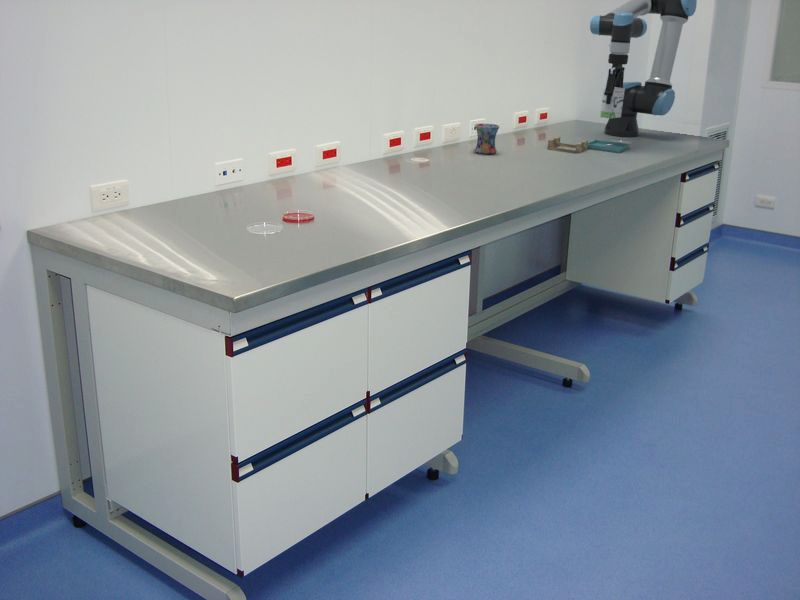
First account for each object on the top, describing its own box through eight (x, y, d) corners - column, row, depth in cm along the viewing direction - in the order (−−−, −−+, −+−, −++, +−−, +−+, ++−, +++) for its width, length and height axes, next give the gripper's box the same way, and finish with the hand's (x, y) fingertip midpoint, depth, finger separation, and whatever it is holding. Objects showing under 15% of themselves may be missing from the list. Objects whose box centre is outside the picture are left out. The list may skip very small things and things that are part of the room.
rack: (557, 145, 350) (558, 136, 349) (587, 149, 344) (588, 140, 343) (547, 149, 340) (547, 140, 338) (577, 153, 334) (578, 144, 333)
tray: (594, 143, 357) (594, 139, 356) (629, 148, 350) (629, 144, 349) (583, 148, 346) (584, 143, 345) (619, 153, 339) (620, 148, 338)
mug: (490, 156, 320) (492, 128, 317) (468, 152, 325) (470, 125, 321) (504, 152, 330) (507, 124, 326) (484, 148, 335) (486, 121, 331)
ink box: (610, 118, 339) (614, 88, 335) (599, 117, 342) (603, 87, 338) (621, 117, 345) (625, 87, 340) (610, 115, 348) (614, 86, 344)
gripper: (617, 51, 345) (610, 107, 353) (601, 54, 327) (593, 112, 335) (635, 53, 342) (628, 109, 350) (620, 55, 324) (612, 114, 332)
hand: (611, 110), depth 342 cm, fingers closed on ink box, 9 cm apart
